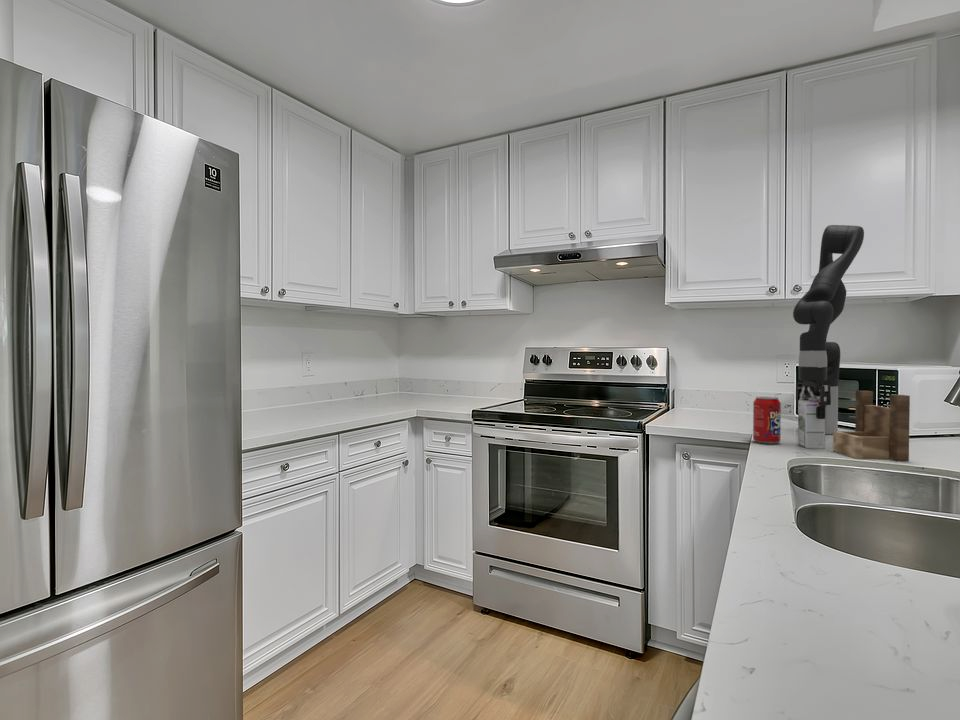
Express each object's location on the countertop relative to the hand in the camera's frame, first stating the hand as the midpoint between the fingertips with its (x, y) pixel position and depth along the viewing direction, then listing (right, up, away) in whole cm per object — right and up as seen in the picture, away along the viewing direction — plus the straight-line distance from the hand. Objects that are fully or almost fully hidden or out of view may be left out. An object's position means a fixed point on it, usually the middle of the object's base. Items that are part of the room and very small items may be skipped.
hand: (812, 417), depth 160 cm
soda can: (-10, -10, +8) cm, 16 cm away
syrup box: (0, -10, 0) cm, 10 cm away
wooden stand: (+7, -10, -12) cm, 17 cm away
